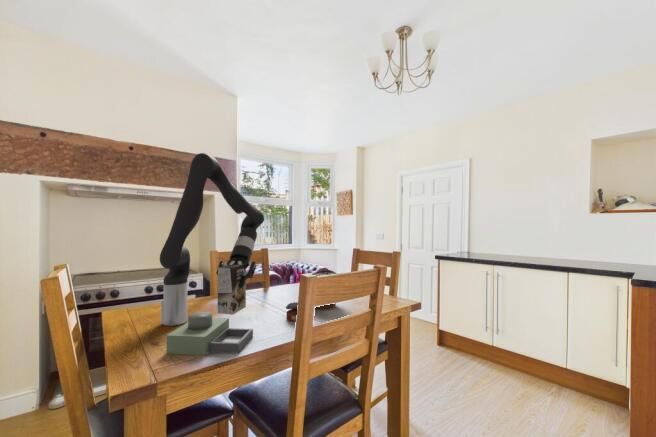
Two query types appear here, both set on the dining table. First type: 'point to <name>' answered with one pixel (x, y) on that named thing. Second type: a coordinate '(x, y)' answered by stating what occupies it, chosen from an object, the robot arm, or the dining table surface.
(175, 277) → the robot arm
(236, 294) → the coffee box
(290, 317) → the canned food
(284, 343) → the dining table surface
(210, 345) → the grey-green blocky piece
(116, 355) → the dining table surface
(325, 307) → the case
